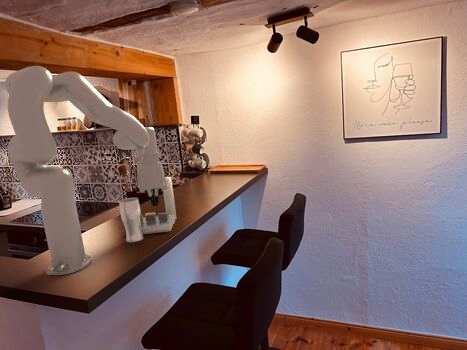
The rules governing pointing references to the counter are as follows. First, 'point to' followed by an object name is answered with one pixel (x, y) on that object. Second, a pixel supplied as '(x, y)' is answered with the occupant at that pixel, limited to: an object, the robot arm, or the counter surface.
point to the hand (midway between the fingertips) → (155, 205)
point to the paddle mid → (150, 217)
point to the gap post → (169, 198)
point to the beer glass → (131, 219)
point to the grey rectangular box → (163, 216)
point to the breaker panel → (157, 225)
